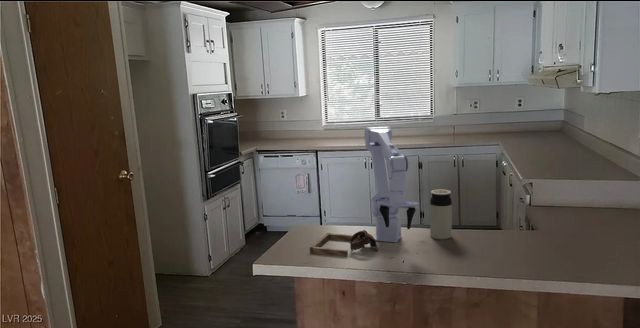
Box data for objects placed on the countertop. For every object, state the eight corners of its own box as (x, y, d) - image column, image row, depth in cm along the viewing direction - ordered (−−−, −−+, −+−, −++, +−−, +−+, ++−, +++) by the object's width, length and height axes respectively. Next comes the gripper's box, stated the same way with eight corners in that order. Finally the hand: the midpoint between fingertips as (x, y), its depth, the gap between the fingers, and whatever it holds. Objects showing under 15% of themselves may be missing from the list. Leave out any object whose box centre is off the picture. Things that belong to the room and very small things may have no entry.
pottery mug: (380, 255, 167) (370, 238, 164) (357, 266, 169) (346, 249, 166) (378, 236, 177) (368, 220, 175) (356, 246, 180) (346, 230, 177)
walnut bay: (361, 240, 181) (361, 236, 181) (346, 256, 166) (346, 251, 165) (327, 237, 187) (327, 232, 187) (310, 252, 171) (309, 247, 171)
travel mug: (449, 240, 177) (450, 194, 174) (428, 238, 180) (428, 193, 177) (452, 234, 185) (453, 189, 182) (432, 232, 188) (432, 188, 185)
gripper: (374, 191, 162) (375, 229, 165) (416, 193, 157) (416, 232, 159) (379, 187, 169) (380, 223, 171) (420, 188, 163) (420, 226, 165)
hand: (398, 227), depth 165 cm, fingers open, 7 cm apart
